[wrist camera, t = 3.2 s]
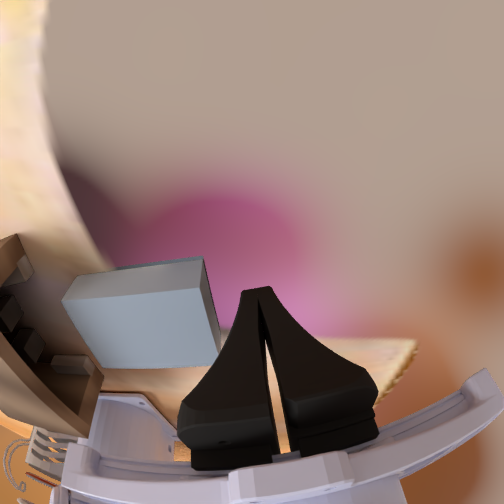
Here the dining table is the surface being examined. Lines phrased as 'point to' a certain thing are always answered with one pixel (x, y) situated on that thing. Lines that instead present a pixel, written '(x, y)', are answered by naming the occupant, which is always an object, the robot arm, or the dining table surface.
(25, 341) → the overhang shelf
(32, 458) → the french press
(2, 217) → the dining table surface
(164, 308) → the grey rectangular block
